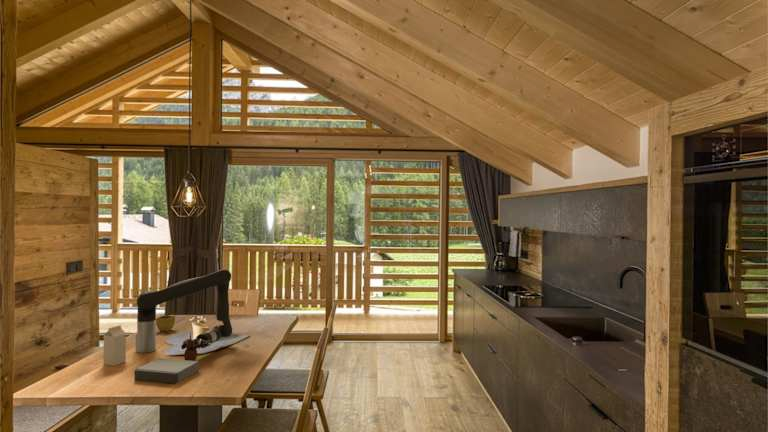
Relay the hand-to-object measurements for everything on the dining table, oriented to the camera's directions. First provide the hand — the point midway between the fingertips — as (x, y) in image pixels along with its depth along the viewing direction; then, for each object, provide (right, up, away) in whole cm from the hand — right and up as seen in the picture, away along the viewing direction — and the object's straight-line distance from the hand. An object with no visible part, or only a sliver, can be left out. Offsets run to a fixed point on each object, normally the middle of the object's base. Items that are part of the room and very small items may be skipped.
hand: (187, 347), depth 239 cm
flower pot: (-42, -8, +64) cm, 77 cm away
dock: (-2, -9, -16) cm, 19 cm away
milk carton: (-38, -8, 0) cm, 39 cm away
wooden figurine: (0, -9, +3) cm, 9 cm away
